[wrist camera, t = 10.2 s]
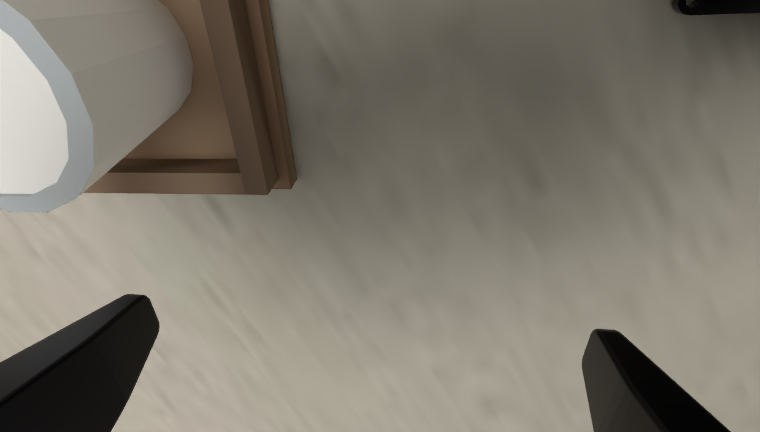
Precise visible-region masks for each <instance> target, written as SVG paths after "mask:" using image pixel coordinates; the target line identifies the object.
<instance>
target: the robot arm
mask: <svg viewBox="0 0 760 432" xmlns="http://www.w3.org/2000/svg"><path fill="white" fill-rule="evenodd" d="M672 5H673V8H674V10H675V11H676V12H678V13H681V14H685V15H711V14H740V13H760V0H695V1H694V2H693V3H692V4H691V5H689V6H687V5H686V0H673V3H672ZM158 332H159V321H158V318H157V316H156V313H155V311H154V308H153V306H152V303H151V301H150V299H149V298H148V297H147V296H145V295H136V294H127V295H124V296H122V297H120V298H118V299H116V300H114V301H113V302H111V303H109V304H107V305H105V306H103V307H102V308H100V309H98V310H96V311H94V312H92V313H91V314H89V315H87V316H85V317H83V318H81V319H80V320H78V321H76V322H74V323H72V324H70V325H68V326H67V327H65V328H63V329H61V330H59V331H57V332H56V333H54V334H52V335H50V336H48V337H46V338H45V339H43V340H41V341H39V342H37V343H35V344H33V345H32V346H30V347H28V348H26V349H24V350H22V351H21V352H19V353H17V354H15V355H13V356H11V357H10V358H8V359H6V360H4V361H2V362H0V432H111V430H112V429H113V427H114V425H115V423H116V422H117V420H118V418H119V416H120V414H121V413H122V411H123V409H124V407H125V405H126V403H127V402H128V399H129V397H130V395H131V393H132V391H133V389H134V387H135V385H136V382H137V380H138V378H139V376H140V373H141V371H142V369H143V367H144V364H145V362H146V360H147V358H148V356H149V353H150V351H151V349H152V347H153V344H154V342H155V340H156V338H157V335H158ZM582 370H583V376H584V381H585V387H586V392H587V397H588V403H589V408H590V413H591V419H592V424H593V429H594V432H731V431H729V430H728V429H727V428H726V427H725V426H724V425H723V424H722V423H721V422H719V421H718V420H717V419H716V418H715V417H714V416H713V415H712V414H711V413H709V412H708V411H707V410H706V409H705V408H704V407H703V406H702V405H700V404H699V403H698V402H697V401H696V400H695V399H694V398H693V397H692V396H690V395H689V394H688V393H687V392H686V391H685V390H684V389H683V388H682V387H680V386H679V385H678V384H677V383H676V382H675V381H674V380H673V379H672V378H670V377H669V376H668V375H667V374H666V373H665V372H664V371H663V370H661V369H660V368H659V367H658V366H657V365H656V364H655V363H654V362H653V361H651V360H650V359H649V358H648V357H647V356H646V355H645V354H644V353H643V352H641V351H640V350H639V349H638V348H637V347H636V346H635V345H634V344H633V343H631V342H630V341H629V340H628V339H627V338H626V337H625V336H624V335H622V334H621V333H620V332H618V331H616V330H608V329H595V330H593V331H592V333H591V335H590V338H589V341H588V344H587V346H586V349H585V352H584V355H583V358H582Z"/></svg>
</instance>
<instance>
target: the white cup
mask: <svg viewBox="0 0 760 432" xmlns="http://www.w3.org/2000/svg"><path fill="white" fill-rule="evenodd" d="M193 66H194V65H193V61H192V58H191V54H190V50H189V47H188V43H187V39H186V36H185V34H184V33H183V31H182V30H181V28H180V26H179V25H178V23H177V22H176V20H175V19H174V17H173V16H172V14H171V12H170V11H169V9H168V8H167V7H166V6H165V5H164V4H162V3H161V2H160V1H159V0H0V209H2V210H5V211H8V212H49V211H51V210H53V209H55V208H57V207H59V206H61V205H63V204H65V203H67V202H69V201H72V200H74V199H76V198H78V197H79V196H80V195H81V194H82V193H83V192H85V191H86V190H87V189H88V188H89V187H90V186H91V185H93V184H94V183H95V182H96V181H97V180H98V179H100V178H101V177H102V176H103V175H104V174H105V173H106V172H108V171H109V170H110V169H111V168H112V167H113V166H115V165H116V164H117V163H118V162H119V161H120V160H121V159H123V158H124V157H125V156H126V155H127V154H128V153H130V152H131V151H132V150H133V149H134V148H135V147H136V146H138V145H139V144H140V143H141V142H142V141H143V140H145V139H146V138H147V137H148V136H149V135H150V134H151V133H153V132H154V131H155V130H156V129H157V128H158V127H160V126H161V125H162V124H163V123H164V122H165V121H166V120H168V119H169V118H170V117H171V116H172V115H173V114H175V113H176V112H177V111H178V110H179V109H180V107H181V106H182V104H183V103H184V101H185V99H186V98H187V96H188V95H189V93H190V92H191V85H192V75H193Z"/></svg>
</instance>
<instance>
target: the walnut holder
mask: <svg viewBox="0 0 760 432" xmlns="http://www.w3.org/2000/svg"><path fill="white" fill-rule="evenodd" d="M159 1H160V2H161V3H162V4H164V5H165V6H166V7H167V8H168V9H169V11H170V12H171V14H172V16H173V17H174V19H175V20H176V22H177V23H178V25H179V26H180V28H181V30H182V31H183V33H184V34H185V36H186V39H187V43H188V47H189V50H190V54H191V58H192V61H193V65H194V66H193V75H192V85H191V92H190V93H189V95H188V96H187V98H186V99H185V101H184V103H183V104H182V106H181V107H180V109H179V110H178V111H177V112H176V113H175V114H173V115H172V116H171V117H170V118H169V119H168V120H166V121H165V122H164V123H163V124H162V125H161V126H160V127H158V128H157V129H156V130H155V131H154V132H153V133H151V134H150V135H149V136H148V137H147V138H146V139H145V140H143V141H142V142H141V143H140V144H139V145H138V146H136V147H135V148H134V149H133V150H132V151H131V152H130V153H128V154H127V155H126V156H125V157H124V158H123V159H121V160H120V161H119V162H118V163H117V164H116V165H115V166H113V167H112V168H111V169H110V170H109V171H108V172H106V173H105V174H104V175H103V176H102V177H101V178H100V179H98V180H97V181H96V182H95V183H94V184H93V185H91V186H90V187H89V188H88V189H87V190H86V191H85V192H83V193H160V194H254V195H268V194H269V192H270V191H271V189H291V188H292V186H293V185H294V183H295V181H296V180H297V178H296V172H295V165H294V159H293V153H292V147H291V141H290V135H289V128H288V122H287V116H286V110H285V104H284V98H283V92H282V85H281V79H280V73H279V67H278V61H277V55H276V48H275V42H274V36H273V30H272V24H271V18H270V11H269V5H268V0H159Z"/></svg>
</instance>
